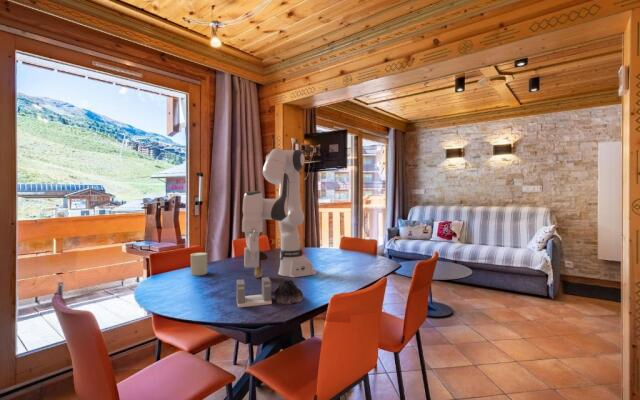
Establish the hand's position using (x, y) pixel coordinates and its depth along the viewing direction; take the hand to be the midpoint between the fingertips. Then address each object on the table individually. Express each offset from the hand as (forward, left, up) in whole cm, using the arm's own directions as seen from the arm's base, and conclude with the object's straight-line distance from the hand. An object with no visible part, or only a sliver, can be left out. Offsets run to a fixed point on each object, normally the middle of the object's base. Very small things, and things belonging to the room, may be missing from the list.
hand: (251, 259), depth 141 cm
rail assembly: (-1, +2, -18) cm, 18 cm away
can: (+25, -57, -18) cm, 64 cm away
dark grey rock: (-15, +5, -18) cm, 25 cm away
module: (0, 0, -3) cm, 3 cm away
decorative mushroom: (-7, -37, -18) cm, 41 cm away
